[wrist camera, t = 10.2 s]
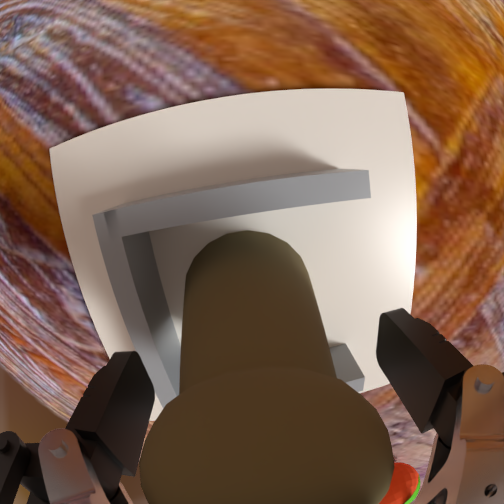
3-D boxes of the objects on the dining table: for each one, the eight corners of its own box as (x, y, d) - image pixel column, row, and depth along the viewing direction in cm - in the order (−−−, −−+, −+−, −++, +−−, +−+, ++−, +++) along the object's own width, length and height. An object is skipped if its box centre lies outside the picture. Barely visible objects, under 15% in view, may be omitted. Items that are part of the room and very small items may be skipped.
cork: (283, 354, 14) (332, 550, 4) (173, 327, 14) (114, 538, 3) (329, 252, 13) (496, 438, 2) (203, 213, 12) (69, 437, 1)
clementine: (382, 450, 21) (404, 500, 14) (423, 442, 22) (446, 483, 15) (345, 484, 23) (358, 528, 16) (387, 476, 24) (402, 514, 17)
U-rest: (59, 149, 11) (12, 148, 8) (393, 96, 12) (439, 80, 8) (146, 410, 17) (134, 452, 13) (392, 372, 17) (416, 408, 13)
